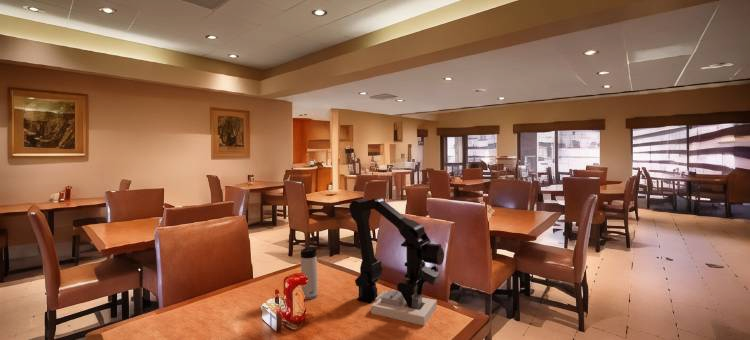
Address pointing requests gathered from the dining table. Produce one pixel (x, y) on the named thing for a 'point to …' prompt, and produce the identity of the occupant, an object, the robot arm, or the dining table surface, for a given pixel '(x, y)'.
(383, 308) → the socket
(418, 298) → the plug
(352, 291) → the dining table surface
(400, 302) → the block
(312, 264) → the travel mug
